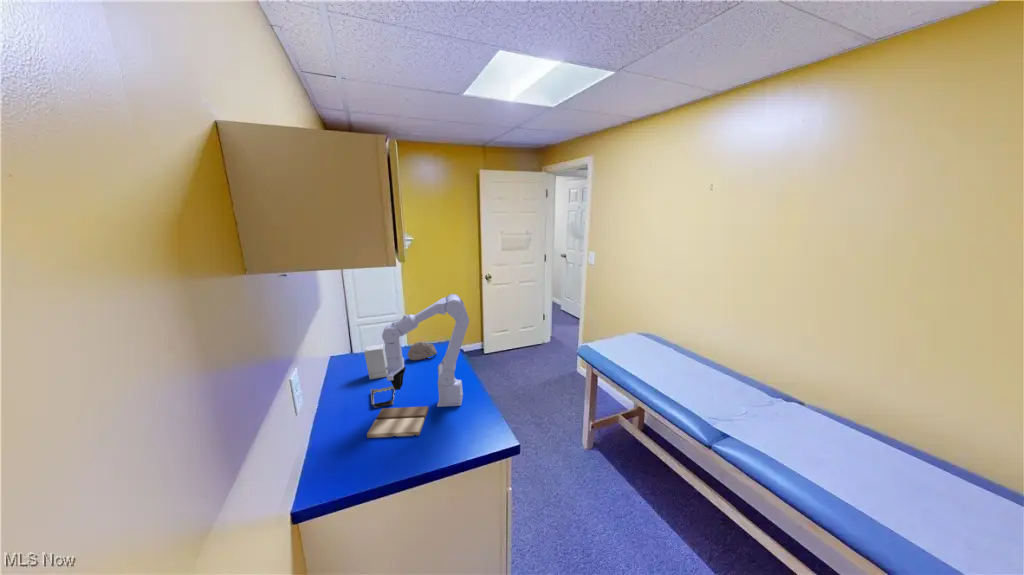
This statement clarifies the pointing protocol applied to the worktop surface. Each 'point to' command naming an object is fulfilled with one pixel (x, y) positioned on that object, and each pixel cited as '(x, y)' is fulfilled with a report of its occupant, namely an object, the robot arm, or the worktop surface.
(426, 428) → the worktop surface
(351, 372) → the worktop surface
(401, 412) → the walnut strip
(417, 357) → the pumice stone
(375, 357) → the skincare box
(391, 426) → the maple plank
